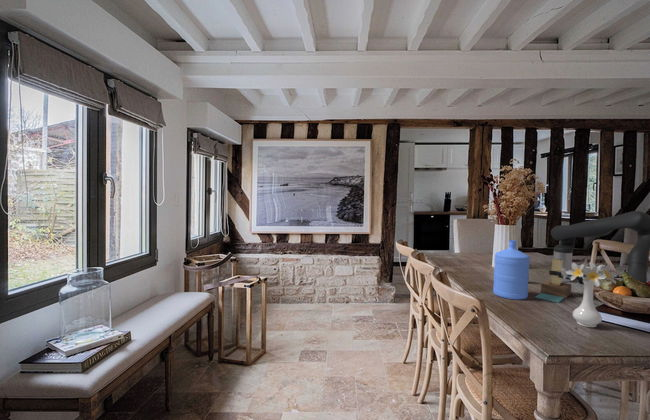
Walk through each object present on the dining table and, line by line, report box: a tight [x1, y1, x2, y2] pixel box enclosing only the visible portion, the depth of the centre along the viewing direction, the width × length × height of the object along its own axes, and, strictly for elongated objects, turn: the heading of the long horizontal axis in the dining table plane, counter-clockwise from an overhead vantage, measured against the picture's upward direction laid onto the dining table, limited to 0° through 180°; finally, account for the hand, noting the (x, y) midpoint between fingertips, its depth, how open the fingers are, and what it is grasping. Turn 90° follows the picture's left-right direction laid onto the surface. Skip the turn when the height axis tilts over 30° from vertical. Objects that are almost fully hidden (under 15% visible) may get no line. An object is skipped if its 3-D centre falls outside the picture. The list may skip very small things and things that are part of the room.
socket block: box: [540, 280, 572, 299], centre depth 179 cm, size 11×11×5 cm
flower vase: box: [560, 261, 618, 328], centre depth 136 cm, size 13×18×25 cm
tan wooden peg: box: [550, 257, 563, 286], centre depth 179 cm, size 4×4×18 cm
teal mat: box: [535, 292, 565, 304], centre depth 171 cm, size 10×10×1 cm
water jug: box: [492, 239, 531, 301], centre depth 174 cm, size 16×16×28 cm
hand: (550, 271), depth 181 cm, fingers closed on tan wooden peg, 4 cm apart
